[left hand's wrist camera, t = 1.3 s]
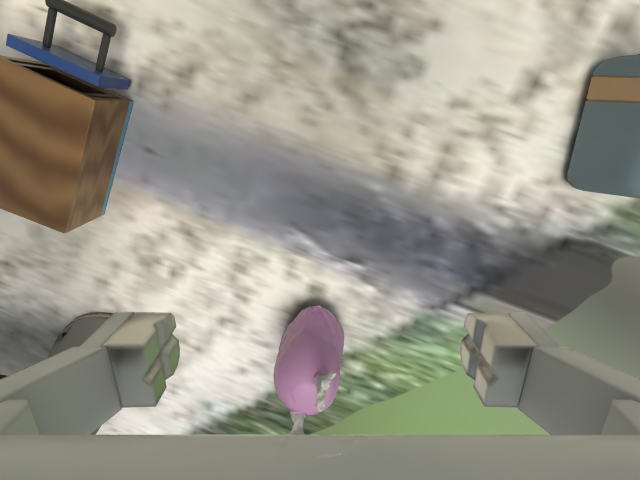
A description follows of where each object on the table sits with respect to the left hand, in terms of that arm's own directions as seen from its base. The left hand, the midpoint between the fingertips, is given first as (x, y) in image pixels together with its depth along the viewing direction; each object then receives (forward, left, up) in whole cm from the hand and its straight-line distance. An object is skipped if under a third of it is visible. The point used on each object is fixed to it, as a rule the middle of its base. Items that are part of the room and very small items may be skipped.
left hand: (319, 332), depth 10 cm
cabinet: (+2, -33, -42) cm, 53 cm away
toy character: (+28, +2, -42) cm, 51 cm away
